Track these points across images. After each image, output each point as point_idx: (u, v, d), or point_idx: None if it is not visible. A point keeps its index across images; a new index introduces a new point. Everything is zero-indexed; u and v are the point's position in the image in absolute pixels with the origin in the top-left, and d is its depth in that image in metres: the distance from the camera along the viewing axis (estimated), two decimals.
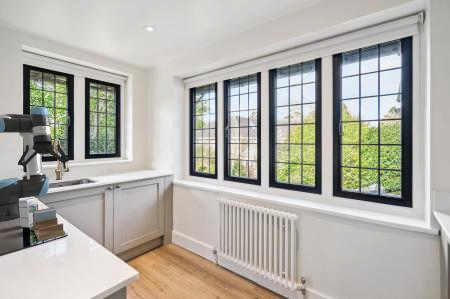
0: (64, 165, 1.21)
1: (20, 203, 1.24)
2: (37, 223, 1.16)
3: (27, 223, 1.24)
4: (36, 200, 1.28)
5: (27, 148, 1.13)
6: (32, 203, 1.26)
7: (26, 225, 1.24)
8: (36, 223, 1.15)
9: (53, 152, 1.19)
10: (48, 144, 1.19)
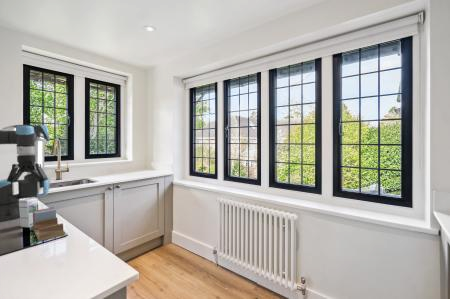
0: (41, 184, 1.25)
1: (20, 203, 1.24)
2: (37, 223, 1.16)
3: (27, 223, 1.24)
4: (36, 200, 1.28)
5: (13, 167, 1.25)
6: (32, 203, 1.26)
7: (26, 225, 1.24)
8: (36, 223, 1.15)
9: (31, 172, 1.24)
10: (28, 163, 1.24)
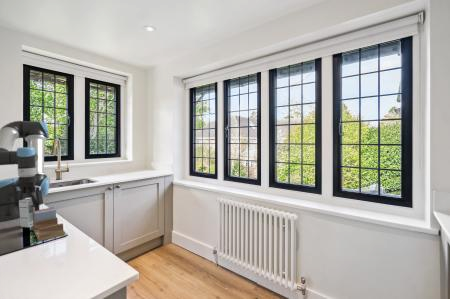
0: (36, 209, 1.26)
1: (20, 203, 1.24)
2: (37, 223, 1.16)
3: (27, 222, 1.24)
4: None
5: (15, 190, 1.25)
6: (32, 203, 1.26)
7: (26, 225, 1.24)
8: (36, 223, 1.15)
9: (30, 194, 1.25)
10: (30, 184, 1.25)
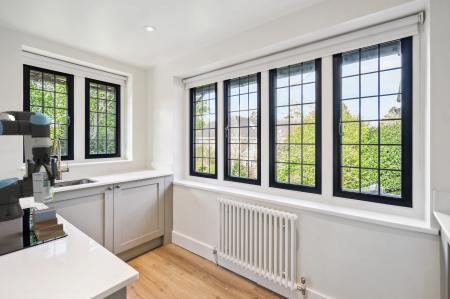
0: (51, 183, 1.14)
1: (34, 176, 1.12)
2: (37, 223, 1.16)
3: (42, 198, 1.12)
4: None
5: (28, 162, 1.14)
6: (47, 177, 1.14)
7: (40, 200, 1.12)
8: (36, 223, 1.15)
9: (45, 166, 1.13)
10: (45, 155, 1.14)
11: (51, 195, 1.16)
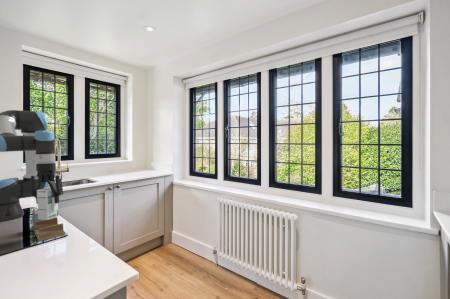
0: (56, 200, 1.13)
1: (38, 193, 1.11)
2: (37, 223, 1.16)
3: (46, 215, 1.11)
4: None
5: (32, 179, 1.12)
6: (51, 193, 1.13)
7: (45, 217, 1.11)
8: (36, 223, 1.15)
9: (49, 183, 1.12)
10: (49, 172, 1.12)
11: (55, 211, 1.15)
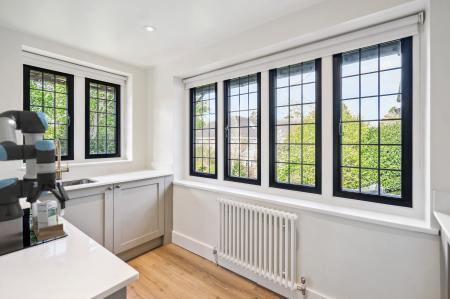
0: (62, 206, 1.13)
1: (38, 206, 1.11)
2: (37, 223, 1.16)
3: None
4: (55, 203, 1.15)
5: (32, 186, 1.12)
6: (51, 206, 1.13)
7: None
8: (36, 223, 1.15)
9: (52, 191, 1.12)
10: (49, 182, 1.12)
11: (56, 224, 1.15)
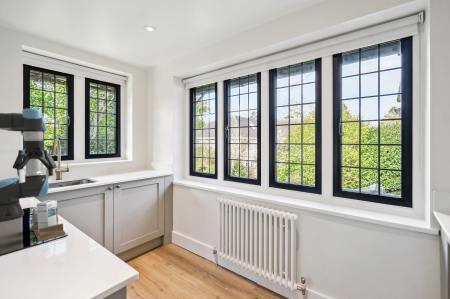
0: (49, 172, 1.17)
1: (38, 206, 1.11)
2: (37, 223, 1.16)
3: None
4: (55, 203, 1.15)
5: (19, 153, 1.16)
6: (51, 206, 1.13)
7: None
8: (36, 223, 1.15)
9: (39, 159, 1.16)
10: (36, 150, 1.16)
11: (56, 224, 1.15)
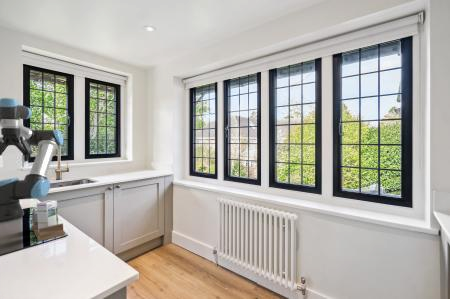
0: (25, 158, 1.25)
1: (38, 206, 1.11)
2: (37, 223, 1.16)
3: None
4: (55, 203, 1.15)
5: None
6: (51, 206, 1.13)
7: None
8: (36, 223, 1.15)
9: (16, 145, 1.24)
10: (13, 136, 1.24)
11: (56, 224, 1.15)
